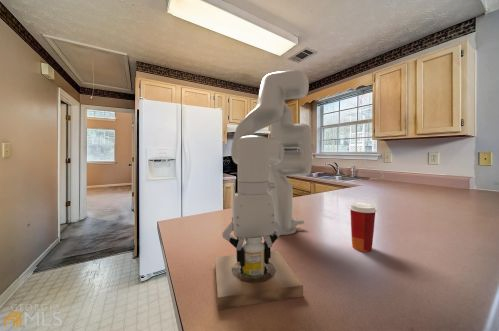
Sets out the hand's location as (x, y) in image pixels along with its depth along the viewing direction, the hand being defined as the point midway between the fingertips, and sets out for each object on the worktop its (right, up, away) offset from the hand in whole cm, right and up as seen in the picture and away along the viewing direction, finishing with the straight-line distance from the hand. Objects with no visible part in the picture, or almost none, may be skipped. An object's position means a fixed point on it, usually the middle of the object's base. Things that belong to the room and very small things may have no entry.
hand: (253, 261), depth 49 cm
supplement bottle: (0, -3, 0) cm, 3 cm away
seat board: (0, -4, 0) cm, 4 cm away
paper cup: (+35, -4, +17) cm, 39 cm away
